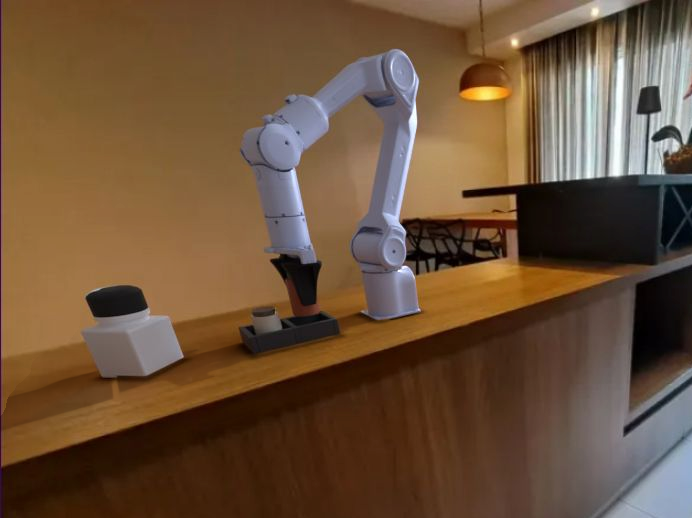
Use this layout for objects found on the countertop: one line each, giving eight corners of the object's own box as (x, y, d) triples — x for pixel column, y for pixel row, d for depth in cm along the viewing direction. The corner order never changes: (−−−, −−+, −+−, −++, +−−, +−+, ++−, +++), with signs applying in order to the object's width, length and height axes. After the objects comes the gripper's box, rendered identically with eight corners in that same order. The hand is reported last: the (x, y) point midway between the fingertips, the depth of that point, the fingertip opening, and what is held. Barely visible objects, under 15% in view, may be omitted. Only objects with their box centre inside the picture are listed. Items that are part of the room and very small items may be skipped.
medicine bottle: (186, 360, 67) (157, 282, 62) (147, 379, 61) (111, 294, 56) (143, 359, 68) (112, 281, 63) (100, 378, 62) (61, 294, 57)
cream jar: (281, 336, 75) (273, 304, 72) (288, 342, 72) (280, 309, 70) (255, 342, 72) (246, 309, 70) (262, 348, 70) (252, 314, 67)
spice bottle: (314, 308, 77) (305, 264, 74) (323, 313, 74) (314, 267, 71) (289, 313, 75) (278, 267, 71) (298, 318, 72) (286, 271, 68)
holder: (325, 327, 81) (321, 310, 79) (340, 336, 76) (337, 318, 75) (243, 345, 73) (238, 327, 71) (255, 357, 68) (249, 337, 67)
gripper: (244, 215, 70) (266, 298, 76) (270, 220, 60) (293, 315, 66) (290, 212, 74) (308, 291, 80) (321, 216, 65) (339, 306, 70)
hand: (304, 302), depth 74 cm, fingers closed on spice bottle, 4 cm apart
